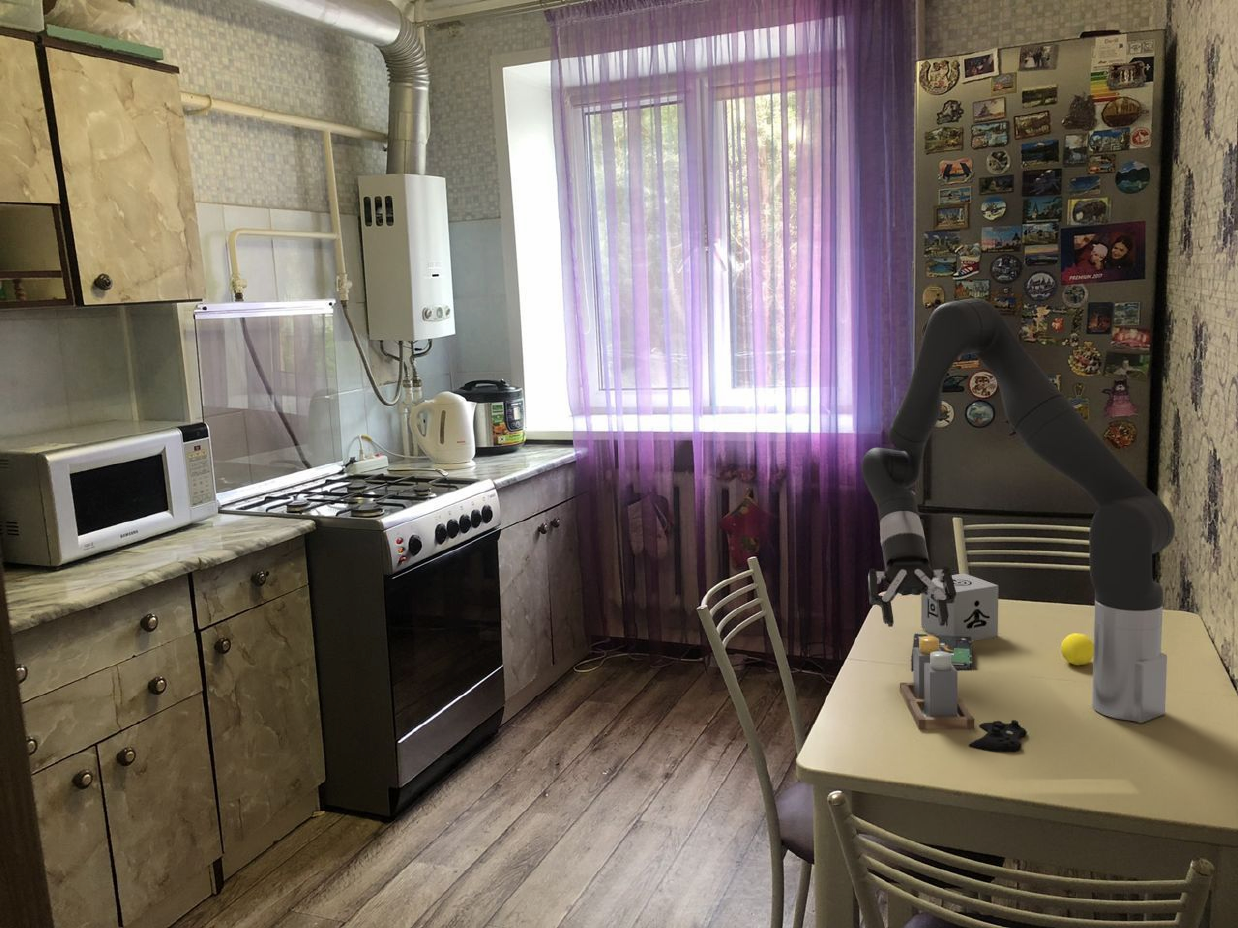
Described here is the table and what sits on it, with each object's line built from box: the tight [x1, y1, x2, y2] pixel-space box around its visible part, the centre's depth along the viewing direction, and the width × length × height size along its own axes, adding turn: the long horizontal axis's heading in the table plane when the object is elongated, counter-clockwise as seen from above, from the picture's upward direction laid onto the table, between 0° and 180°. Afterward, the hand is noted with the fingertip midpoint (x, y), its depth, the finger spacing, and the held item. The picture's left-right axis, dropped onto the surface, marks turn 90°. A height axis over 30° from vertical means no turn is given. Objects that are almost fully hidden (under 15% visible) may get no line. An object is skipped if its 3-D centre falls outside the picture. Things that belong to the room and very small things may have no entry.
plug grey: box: [924, 651, 958, 717], centre depth 153 cm, size 4×4×10 cm
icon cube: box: [920, 572, 999, 642], centre depth 195 cm, size 10×10×10 cm
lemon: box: [1060, 632, 1094, 666], centre depth 177 cm, size 7×5×5 cm
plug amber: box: [912, 635, 942, 699], centre depth 160 cm, size 4×4×10 cm
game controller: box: [968, 719, 1028, 753], centre depth 146 cm, size 10×5×7 cm
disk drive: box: [910, 633, 974, 672], centre depth 182 cm, size 10×3×15 cm
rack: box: [899, 682, 975, 730], centre depth 157 cm, size 8×15×3 cm, turn 175°
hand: (916, 624), depth 170 cm, fingers open, 8 cm apart
